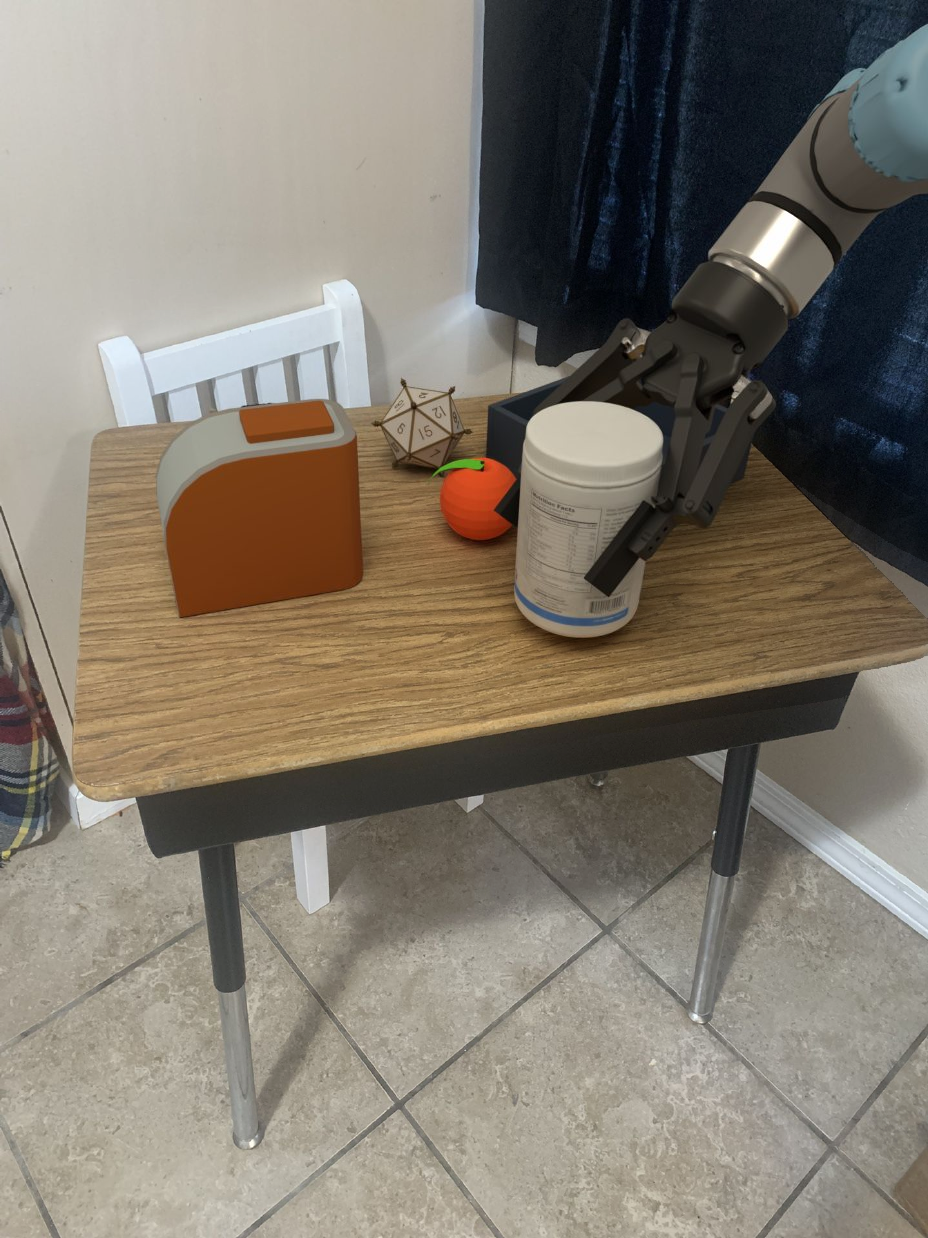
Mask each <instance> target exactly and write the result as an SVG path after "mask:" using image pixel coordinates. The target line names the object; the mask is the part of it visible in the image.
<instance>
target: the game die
mask: <svg viewBox="0 0 928 1238" xmlns="http://www.w3.org/2000/svg"><path fill="white" fill-rule="evenodd" d="M399 384H400V386H402V387H403V388H402V389H401V391H400V392H399V394H398V395H397V397H396V398H395V400H394V401H393V403H392V404H391V406H390V407H389V409H388V410H387V412H386V413H385V415H384V417H382V419H381V421H379V420H377V421H376V420H374V421H372V422H370V424H371V425H372V426H373V427H374V428H376V427H377V428H378V427H380V428H381V430H382V433H383V435H384V438H385V439H386V441H387V443H388V446H389V448H390V450H391V452H392V454H393V456H394V459H395V460H393V461H392V462H391V469H393V468H397V467H398V466H399V463H402V464H407V465H414V466H418V467H419V466H420V467H425V468H431V469H436V470H438V469H439V468H441V467H443V466H445V465H446V462H447V461H448V460H449V458H450V456H451V454H452V453H453V452H454V450H455V449H456V447H457V446H458V444H459V443H460V441H461V439H463V436H464V434H465V435H468V436H470V435H471V434H473V433H474V431H473V430H471V428H466V429H465V428H464V425H463V423H462V420H461V417H460V414H459V412H458V410H457V407H456V404H455V402H454V399H453V397H452V394H454V392H456V385H454V386H451V387H449V389H448V392H447V391H442V390H441V391H440V390H434V389H428V388H420V387H414V386H408V385H407V381H406V379H404V378H402V377H400V382H399ZM439 475H440V476H442V477H443V478H446V470H443V471H441V472H439Z"/></svg>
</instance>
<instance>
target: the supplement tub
mask: <svg viewBox="0 0 928 1238" xmlns="http://www.w3.org/2000/svg"><path fill="white" fill-rule="evenodd" d="M662 447H663V434H662V432H661V430H660V428H659V427H658V426H657V424H656V423H655V422H654V421H652V420H651V419H650V418H648V417H647V416H645V415H643V414H641V413H640V412H637V411H635V410H632V409H630V408H627V407H623V406H620V405H615V404H610V403H604V402H593V401H579V402H568V403H562V404H557V405H554V406H551V407H548V408H546V409H543V410H541V411H540V412H538V413H537V414H535V415H534V416H533V417H532V418H531V419H530V421H529V422H528V424H527V428H526V437H525V440H524V444H523V455H522V469H521V487H520V503H519V519H518V529H517V537H516V538H517V539H516V551H515V552H516V554H515V568H514V590H513V596H514V601H515V603H516V606H517V608H518V609H519V611H520V613H521V614H522V616H524V617H525V618H526V619H527V620H528V621H529V622H530V623H532V624H533V625H535V626H536V627H538V628H540V629H543V630H544V631H547V632H548V633H552V634H555V635H559V636H563V637H569V638H582V639H584V638H596V637H601V636H605V635H609V634H611V633H614V632H616V631H617V630H619V629H622V627H624V626H626V625H627V624H628V623H629V622H630V621H631V620H632V619H633V617H634V616H635V614H636V612H637V610H638V607H639V603H640V597H641V592H642V587H643V580H644V573H645V568H646V562H647V560H646V561H644V560H642V559H641V558H639V559H638V560H637V562H636V563H635V564H634V566H633V567H632V568H631V570H630V571H629V572H628V573H627V575H626V576H625V577H624V579H623V580H622V581H621V582H620V584H619V585H618V586H617V588H616V589H615V590H614V591H613V593H612V594H611V595H610V597H607V596H606V595H605V594H603V593H602V592H601V591H599V590H598V589H597V588H596V587H594V586H593V585H592V584H590V583H589V582H588V581H586V580H585V579H584V576H585V575H586V574H587V572H588V571H589V570H590V569H591V567H592V566H593V565H594V563H595V562H596V561H597V559H598V558H599V557H600V556H601V554H602V553H603V552H604V550H605V549H606V548H607V546H608V545H609V544H610V543H611V541H612V540H613V539H614V537H615V536H616V535H617V533H618V532H619V531H620V530H621V528H622V527H623V526H624V524H625V523H626V522H627V520H628V519H629V518H630V517H631V516H632V514H633V513H634V512H635V511H636V509H637V508H638V507H639V505H640V504H641V503H642V501H643V500H644V501H646V502H647V503H649V504H651V505H652V506H653V507H654V508H655V505H654V504H653V503H652V501H651V496H653V497H654V498H655V496H657V491H658V485H659V478H660V472H661V466H662V459H663V454H662Z"/></svg>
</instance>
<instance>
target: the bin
mask: <svg viewBox="0 0 928 1238" xmlns="http://www.w3.org/2000/svg"><path fill="white" fill-rule="evenodd" d="M570 376H571V375H568V376H566V377H562V378H560V379H557V380H554V381H552V382H548V383H546V384H543V385H540V386H538V387H535V388H533V389H530V390H526V391H523V392H522V393H519V394H516V395H513V396H510V397H507V398H504V399H502V400H499V401H497V402H494V403H491V404H487V405H488V406H487V423H486V425H487V426H486V445H485V446H486V447H485V448H486V449H485V458H489V459H492V460H495V461H497V462H499V463H501V464H503V465H504V466H506V467H507V468H508V469H509V470H510V471H511V472H512V474H513V475H514V476H515V478H516V479H517V478H518V477H519V475H520V473H519V472H518V470H519V467H520V465H521V463H522V455H523V444H524V440H525V437H526V428H527V424H528V422H529V421H530V419H531V418H532V417H533V416H532V414H533V411H534V409H535V408H536V407H537V406H538V405H539V404H540V403H542V402H543V401H544V400H545V399H546V398H547V397H548V396H549V395H550V394H551V393H552V392H553V391H554V390H556V389H557V388H558V387H559V386H560V385H561V384H562V383H563V382H564V381H565V380H566V379H567V378H568V377H570ZM638 382H639V383H640V384H641V385H642V382H641V379H639V380H638ZM642 386H643V385H642ZM727 409H728V407H725V406H724V405H721V404H720V403H718V404H716V406H715V410H714V415H713V419H712V424H711V428H710V431H709V433H706V435H705V439H704V444H703V448H702V452H701V457H700V461H699V466H698V469H699V467H700V465H701V463H702V461H703V459H704V456H705V454H706V452H707V450H708V448H709V446H710V444H711V442H712V440H713V437H714V435H715V433H716V431H717V429H718V427H719V425H720V423H721V420H722V418H723V416H724V414H725V412H726V411H727ZM633 410H635V411H637V412H640V413H641V414H643V415H645V416H647V417H648V418H650V419H651V420H652V421H654V422H655V423H656V424H657V426H658V427H659V428H660V430H661V432H662V434H663V447H662V454H663V459H662V466H661V472H660V478H659V485H658V491H659V486H660V482H661V478H662V474H663V469H664V465H665V461H666V456H667V452H668V448H669V444H670V439H671V435H672V431H673V426H674V422H675V413H674V409H673V408H672V407H671V406H665V405H661V404H659V403H657V402H655V401H654V402H653V403H651V404H649V405H647V406H644V407H642V406H638V407H636V408H634V409H633ZM754 435H755V434H754ZM754 435H753V437H752V439H751V441H750V443H749V445H748V447H747V450H746V452H745V454H744V456H743V458H742V460H741V462H740V464H739V467H738V469H737V471H736V473H735V475H734V477H733V479H732V482H731V484H730V486H731V485H733V484H735V483H736V482H738V481H740V480H742V479H744V478H745V476H746V475H745V474H746V470H747V467H748V461H749V458H750V457H749V456H750V454H751V453H750V452H751V448H752V444H753V439H754ZM697 471H698V470H697ZM658 491H657V495H658ZM655 508H656V506H655Z"/></svg>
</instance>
